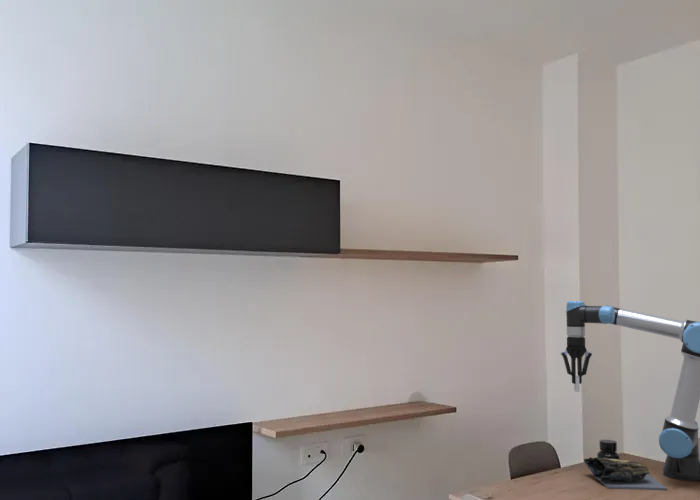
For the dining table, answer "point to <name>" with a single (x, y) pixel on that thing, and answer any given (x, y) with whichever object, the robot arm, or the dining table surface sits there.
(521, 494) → the dining table surface
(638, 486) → the rubber mat
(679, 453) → the robot arm
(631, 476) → the stone block
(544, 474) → the dining table surface
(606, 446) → the ink bottle
